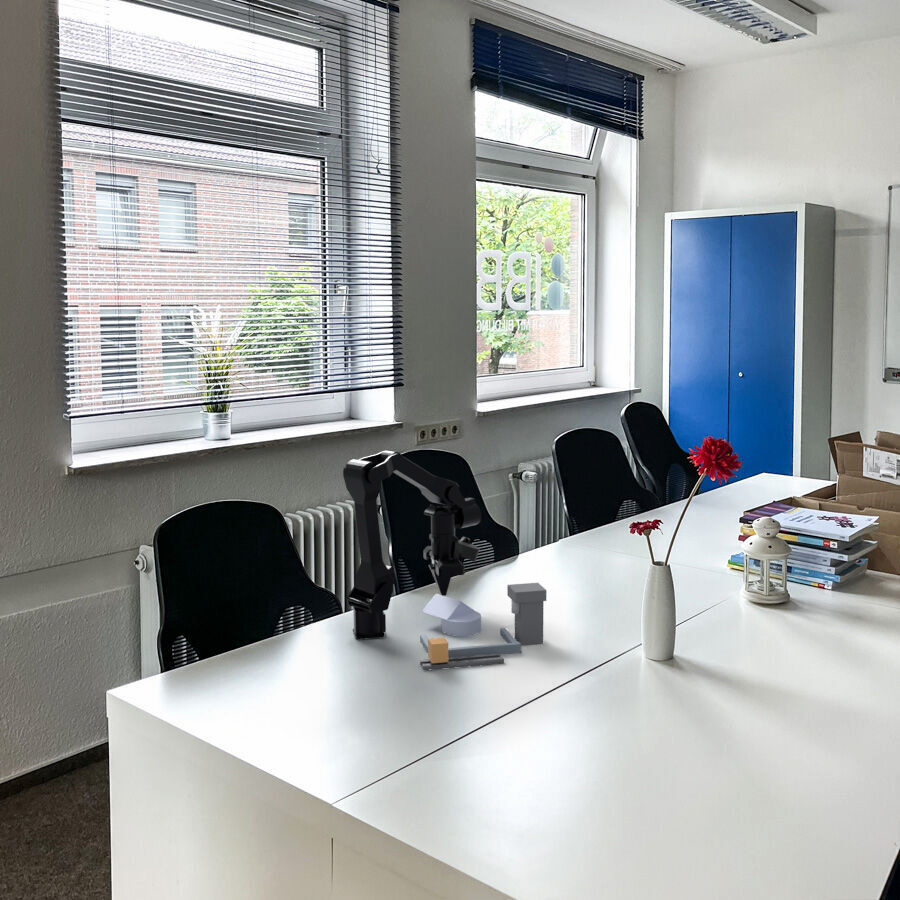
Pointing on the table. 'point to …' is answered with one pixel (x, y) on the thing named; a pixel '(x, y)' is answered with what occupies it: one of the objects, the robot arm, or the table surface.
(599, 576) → the table surface
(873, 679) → the table surface
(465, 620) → the wedge on round base
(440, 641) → the tan wooden cube
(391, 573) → the robot arm
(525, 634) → the press bed
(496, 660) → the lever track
